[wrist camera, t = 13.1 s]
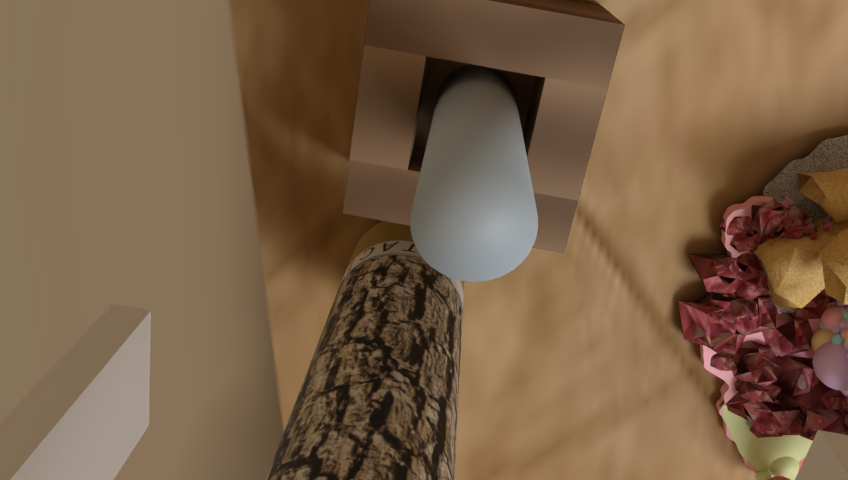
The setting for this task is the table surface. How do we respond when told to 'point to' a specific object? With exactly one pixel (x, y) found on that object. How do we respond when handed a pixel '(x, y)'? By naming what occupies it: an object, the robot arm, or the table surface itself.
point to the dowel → (475, 181)
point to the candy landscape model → (780, 313)
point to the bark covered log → (381, 372)
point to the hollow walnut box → (490, 47)
